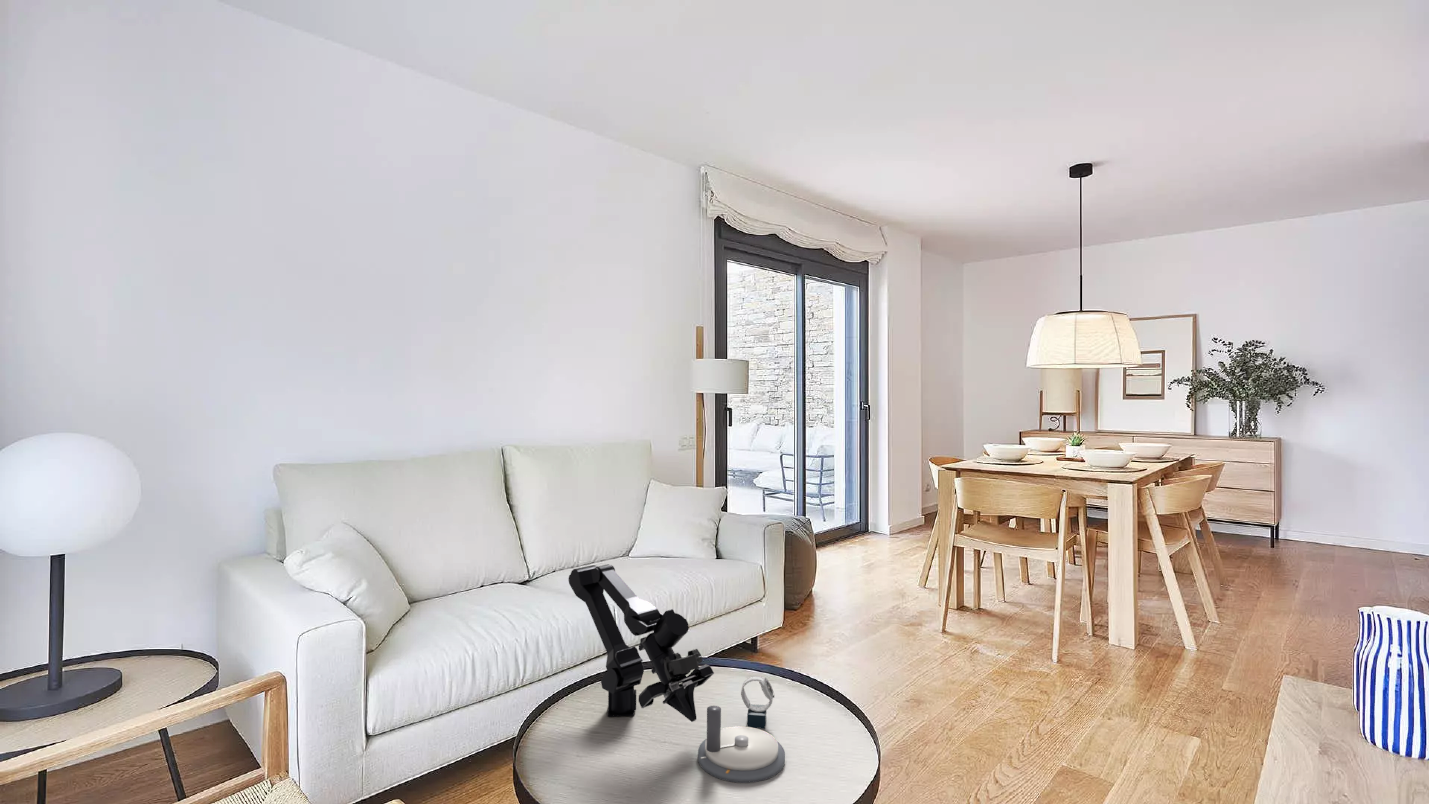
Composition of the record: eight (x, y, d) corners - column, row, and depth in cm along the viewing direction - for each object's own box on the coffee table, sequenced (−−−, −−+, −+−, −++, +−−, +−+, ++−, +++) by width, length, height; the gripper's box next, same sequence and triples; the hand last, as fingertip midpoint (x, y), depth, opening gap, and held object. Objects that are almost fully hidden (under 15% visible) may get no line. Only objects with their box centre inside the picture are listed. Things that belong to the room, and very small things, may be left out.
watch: (773, 729, 174) (774, 683, 173) (739, 726, 175) (740, 681, 174) (774, 718, 179) (775, 673, 179) (741, 715, 180) (742, 672, 180)
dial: (707, 772, 152) (708, 723, 151) (702, 733, 168) (702, 689, 167) (784, 769, 153) (785, 721, 153) (771, 731, 169) (772, 687, 169)
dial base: (701, 784, 150) (701, 776, 150) (695, 738, 169) (695, 731, 169) (792, 780, 152) (792, 773, 152) (776, 735, 171) (776, 728, 171)
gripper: (646, 650, 159) (679, 717, 152) (709, 630, 172) (742, 691, 165) (624, 675, 165) (655, 741, 158) (686, 653, 178) (717, 713, 171)
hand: (694, 720), depth 163 cm, fingers closed
